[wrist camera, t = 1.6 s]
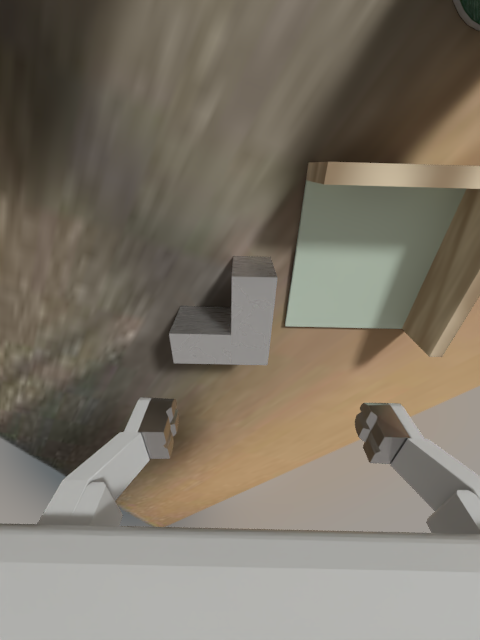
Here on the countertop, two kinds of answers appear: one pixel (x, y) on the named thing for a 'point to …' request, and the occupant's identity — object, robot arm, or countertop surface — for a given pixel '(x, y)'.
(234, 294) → the bracket
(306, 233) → the mat
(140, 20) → the countertop surface
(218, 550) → the robot arm
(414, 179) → the walls
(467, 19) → the canned tomato
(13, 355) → the countertop surface
